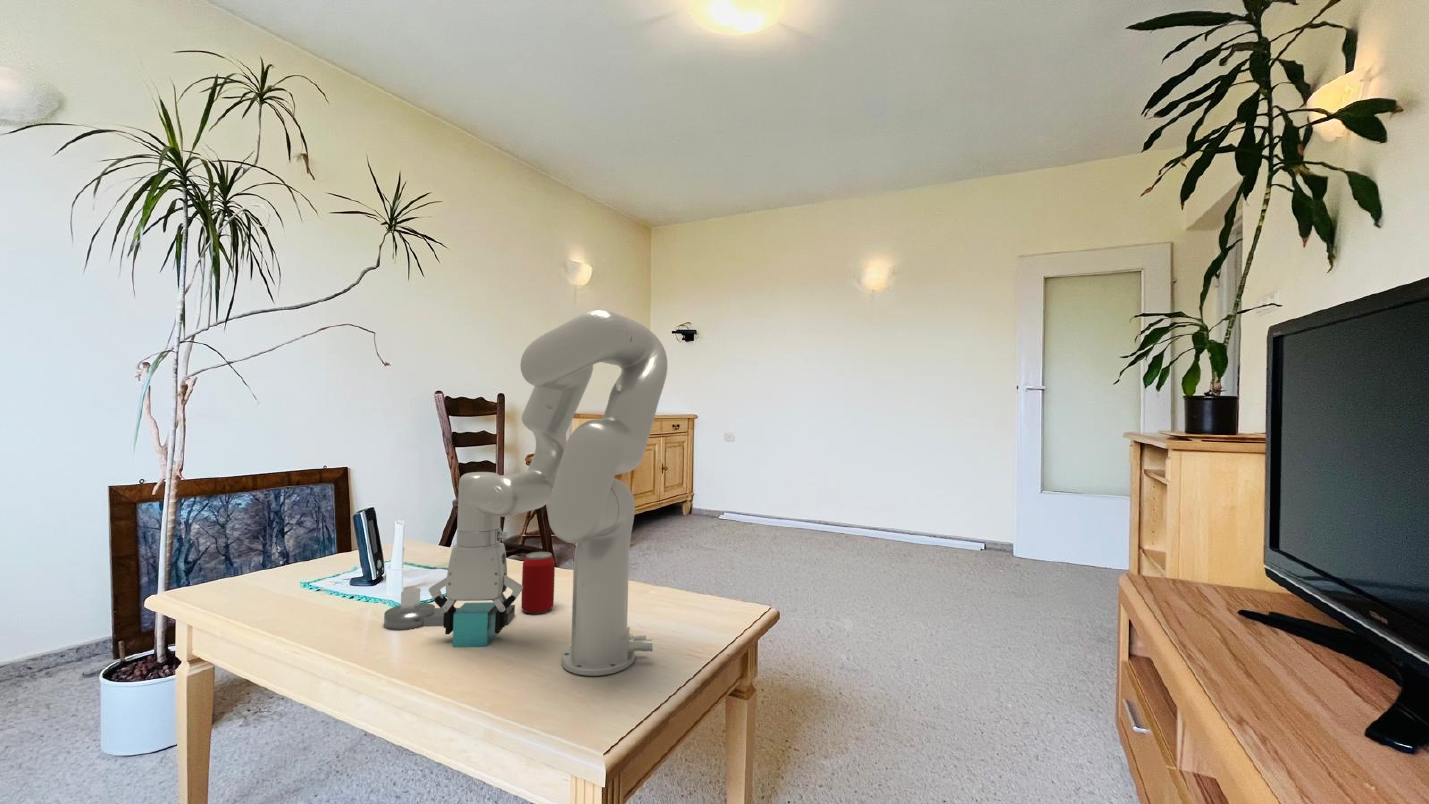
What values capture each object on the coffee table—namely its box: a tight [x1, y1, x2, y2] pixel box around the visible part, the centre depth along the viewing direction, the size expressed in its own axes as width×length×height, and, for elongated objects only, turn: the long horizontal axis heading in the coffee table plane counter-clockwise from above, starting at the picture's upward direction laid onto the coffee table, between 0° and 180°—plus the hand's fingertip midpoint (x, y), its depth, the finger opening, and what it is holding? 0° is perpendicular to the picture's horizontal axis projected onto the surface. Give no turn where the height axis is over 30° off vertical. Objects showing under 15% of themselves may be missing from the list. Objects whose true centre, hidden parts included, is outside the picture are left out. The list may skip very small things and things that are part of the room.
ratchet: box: [383, 587, 516, 632], centre depth 112 cm, size 24×9×6 cm, turn 96°
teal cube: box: [452, 601, 497, 648], centre depth 103 cm, size 6×6×6 cm
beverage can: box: [521, 551, 556, 615], centre depth 120 cm, size 7×7×12 cm
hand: (474, 630), depth 103 cm, fingers open, 8 cm apart
